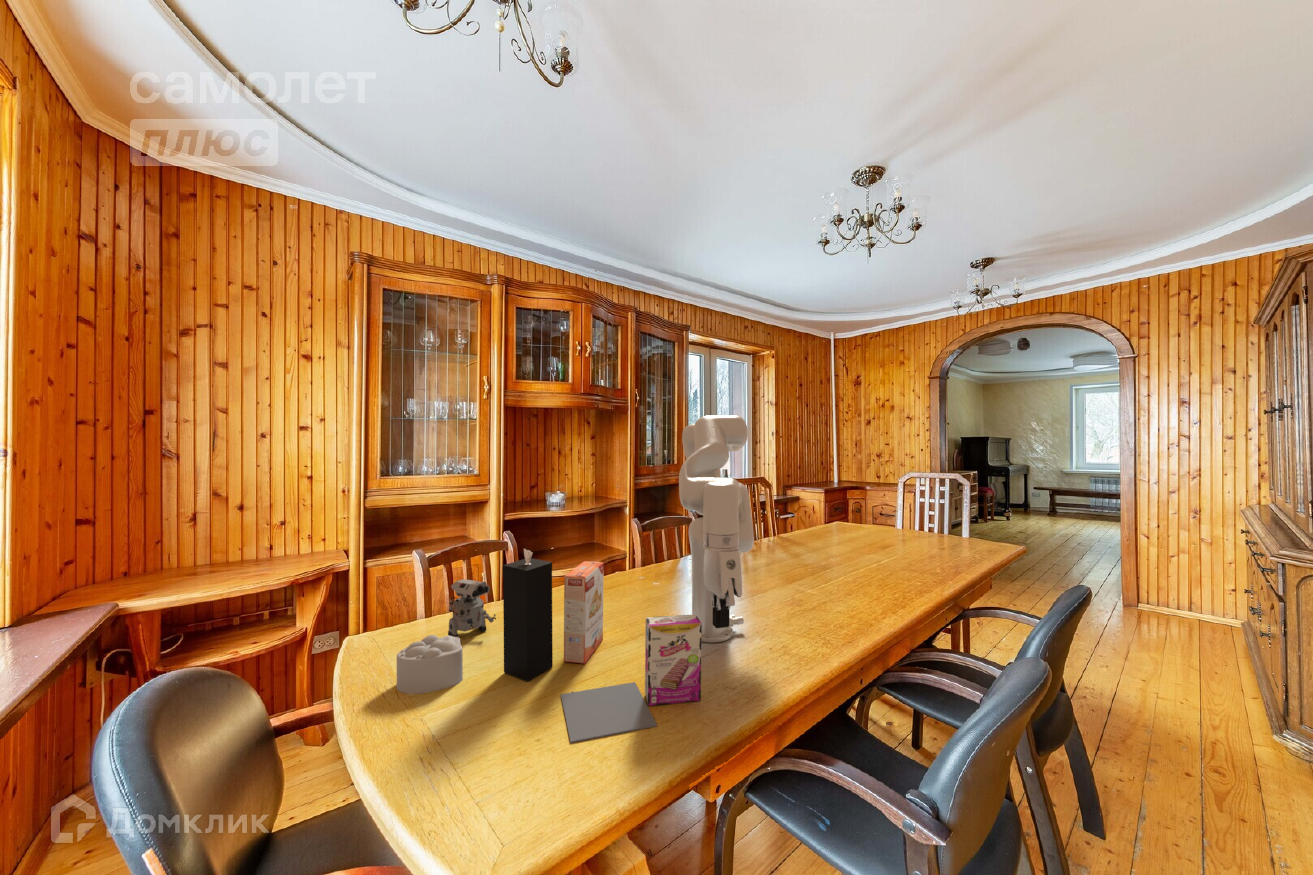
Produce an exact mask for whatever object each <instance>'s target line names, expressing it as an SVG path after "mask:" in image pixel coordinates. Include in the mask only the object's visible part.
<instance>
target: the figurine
mask: <svg viewBox="0 0 1313 875" xmlns="http://www.w3.org/2000/svg"><path fill="white" fill-rule="evenodd" d="M450 587H451V590H452V591H455V595H456V596H453V597H451V598H450V599H449V606H448V607H449V609H448V612H452V618H450V619H448V620H449V622H448V631H447V636H453V637H458V638H460V637H459V633H458V631H460V632H468V631H472V630H474V629H477V630H479V631H480V632H481V633H484V632H487V624H486V620H487V621H489V623H494V620H497V615H496V614H495V613H494V614H493V616H491V615H489V613H487V610H486V609H484V606H485V602H484V600H483V599H482V598H481V597H482V596H484V595H486V594H489V593H490V589H491V586H489V585H488V584H487V582H486V581H479V580H473V579H465V578H462V579H459V580H456V581H454V582H453V583H452V584H451V586H450ZM457 597H458V598H457ZM454 599H455V600H454Z"/></svg>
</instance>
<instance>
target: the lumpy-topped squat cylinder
mask: <svg viewBox="0 0 1313 875" xmlns="http://www.w3.org/2000/svg"><path fill="white" fill-rule="evenodd" d="M458 637H459V636H458ZM458 637H453V636H449V635H445V636H442V637H438V636H437V635H436V634H429V635H427V636H425V637H423V638H422V639H421V640H419V641H418V640H417V641H413V642H412V643H410V644H409V645H408V646H406V647H405V648H403V649H402V650H400V651H399V652H397V654H396V690H397V691H398V692H400V693H404V694H410V695H422V694H427V693H432V692H437V691H441V690H445V689H449V688H451V687H454V686H457V685H459V684H460V683H461V682H462V681H463V678H464V677H463V676H464V675H463V674H464V672H463V671H464V670H463V669H464V668H463V667H464V666H463V662H464V661H463V660H464V659H463V646H462V645H461V638H460V637H459V638H458Z"/></svg>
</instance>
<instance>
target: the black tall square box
mask: <svg viewBox="0 0 1313 875" xmlns="http://www.w3.org/2000/svg"><path fill="white" fill-rule="evenodd" d="M533 553H534V552H533V551H531V550H529V549H526V548H523V556H524V559H523V558H522V559H519V560H516V561H512V562H510V563H506V564H503V565H502V575H503V576H502V581H503V582H502V584H503V585H502V586H503V587H502V588H503V593H502V594H503V595H502V598H503V601H502V602H503V603H502V604H503V609H502V610H503V612H502V613H503V672H504V674H507V675H509V676H512V677H515V678H517V679H519V680H523V681H524V682H525V681H526V682H529V681H532V680H533V679H535V678H537V677H538V676H541V675H542V674H544V673H545V672H547V671H549V670H550V669H552V668H553V665H554V664H553V661H554V660H553V658H554V656H553V562H552V561H549V560H542V559H538V558H533Z"/></svg>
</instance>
